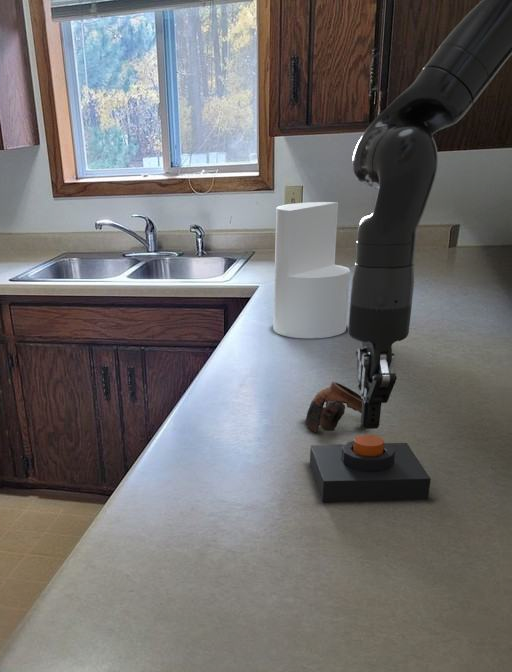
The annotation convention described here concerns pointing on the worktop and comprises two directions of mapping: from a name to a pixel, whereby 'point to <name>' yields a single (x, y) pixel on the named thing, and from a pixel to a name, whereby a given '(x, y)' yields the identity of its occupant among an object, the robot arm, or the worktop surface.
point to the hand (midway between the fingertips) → (369, 426)
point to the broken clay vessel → (331, 407)
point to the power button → (368, 445)
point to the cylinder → (309, 272)
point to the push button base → (368, 474)
